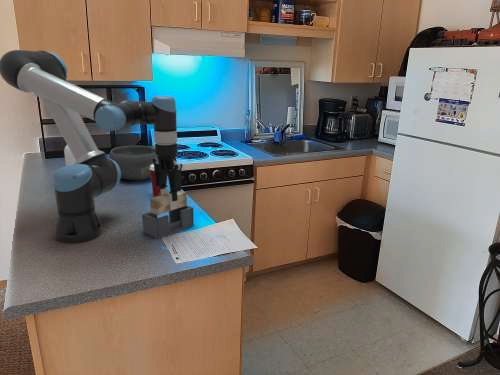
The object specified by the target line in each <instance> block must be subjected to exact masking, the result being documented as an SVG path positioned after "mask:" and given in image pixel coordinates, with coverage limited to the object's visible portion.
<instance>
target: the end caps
mask: <svg viewBox="0 0 500 375" xmlns="http://www.w3.org/2000/svg"><path fill="white" fill-rule="evenodd" d="M194 212H195V211H194V207H193V206H190V205H188V204H187V206H184V207H181V208H178V209H175V210H172V211H169V212H168V215H167V214H166V215H164V216H160V217H158V215H156V214H154V213H151V211H149V212H146V213H143V214H141V215H142V216H141V217H142V231H143V234H144V235H147V236H148V237H151V238H153V239H155V240H158V239H161V238H164V237H165V236H168V235H171V234H174V233H176V232H178V231H182V230H184V229H187V228H189V227H193V226H194V224H195V222H194V221H195V217H194V214H195V213H194Z"/></svg>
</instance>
